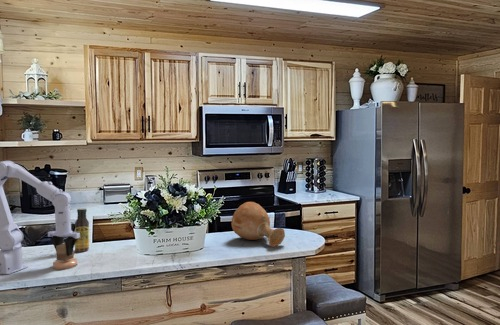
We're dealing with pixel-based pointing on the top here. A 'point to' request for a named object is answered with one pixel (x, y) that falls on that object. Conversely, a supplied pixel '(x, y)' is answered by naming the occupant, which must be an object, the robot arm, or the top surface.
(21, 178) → the robot arm
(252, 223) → the jug
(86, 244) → the sauce bottle
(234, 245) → the top surface
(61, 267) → the tan flattened disc
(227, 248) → the top surface
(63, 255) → the walnut block
